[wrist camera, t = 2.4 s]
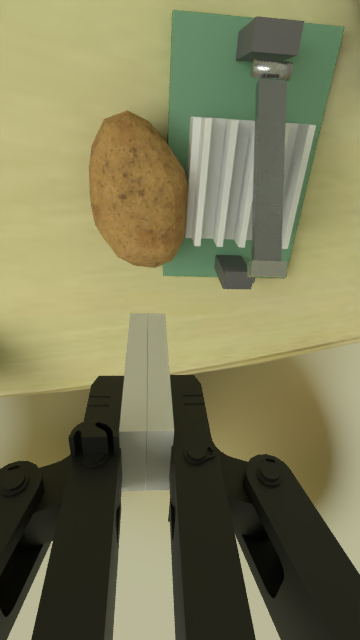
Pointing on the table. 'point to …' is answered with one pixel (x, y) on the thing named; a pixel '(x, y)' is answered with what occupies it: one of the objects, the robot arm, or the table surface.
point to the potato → (137, 191)
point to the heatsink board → (237, 99)
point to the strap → (269, 168)
